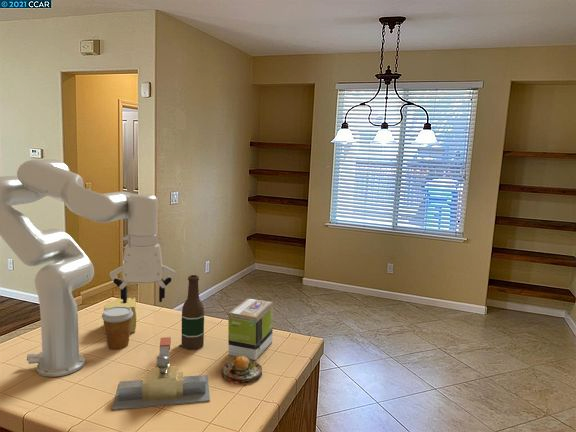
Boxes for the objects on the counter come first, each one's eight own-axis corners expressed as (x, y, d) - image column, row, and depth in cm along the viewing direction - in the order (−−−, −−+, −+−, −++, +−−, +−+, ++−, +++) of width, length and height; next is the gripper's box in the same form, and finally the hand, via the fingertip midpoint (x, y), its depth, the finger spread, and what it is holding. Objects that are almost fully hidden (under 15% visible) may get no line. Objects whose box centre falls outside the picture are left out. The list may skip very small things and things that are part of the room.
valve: (117, 405, 110) (117, 374, 108) (121, 392, 115) (120, 363, 114) (205, 397, 115) (206, 368, 113) (204, 385, 120) (205, 357, 119)
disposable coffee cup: (123, 336, 149) (123, 303, 147) (139, 345, 143) (138, 311, 141) (96, 345, 142) (96, 310, 140) (111, 355, 136) (111, 318, 134)
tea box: (246, 337, 153) (247, 297, 151) (273, 342, 150) (274, 301, 148) (227, 355, 139) (228, 311, 137) (255, 361, 136) (257, 316, 134)
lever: (169, 368, 113) (169, 359, 112) (156, 368, 112) (156, 360, 112) (171, 343, 127) (171, 335, 126) (160, 344, 126) (160, 336, 126)
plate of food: (268, 369, 131) (269, 346, 130) (251, 388, 120) (252, 363, 119) (233, 361, 135) (233, 339, 134) (214, 379, 125) (214, 355, 123)
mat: (112, 410, 108) (112, 408, 107) (120, 382, 120) (120, 381, 120) (209, 401, 113) (209, 400, 113) (207, 376, 126) (207, 374, 125)
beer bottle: (198, 351, 140) (199, 280, 137) (176, 348, 142) (177, 278, 138) (208, 341, 148) (209, 274, 144) (186, 338, 149) (187, 271, 146)
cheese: (106, 324, 159) (105, 298, 157) (137, 322, 162) (137, 296, 160) (103, 336, 149) (102, 308, 147) (136, 333, 152) (136, 306, 151)
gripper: (106, 243, 111) (107, 307, 114) (176, 243, 115) (175, 304, 118) (111, 237, 118) (111, 297, 121) (176, 237, 122) (175, 295, 125)
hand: (143, 301), depth 119 cm, fingers open, 9 cm apart
